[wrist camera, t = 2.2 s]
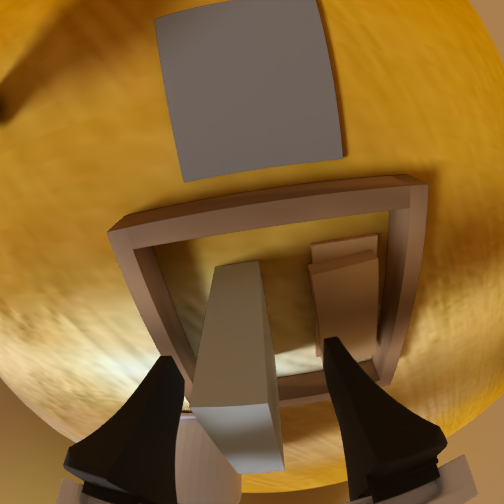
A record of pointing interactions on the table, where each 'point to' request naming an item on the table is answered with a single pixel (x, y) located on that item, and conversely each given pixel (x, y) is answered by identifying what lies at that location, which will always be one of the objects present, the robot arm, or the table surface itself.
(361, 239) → the offcut lower
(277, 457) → the light grey slab
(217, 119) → the mat
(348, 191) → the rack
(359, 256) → the offcut upper
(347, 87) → the table surface
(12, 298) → the table surface
